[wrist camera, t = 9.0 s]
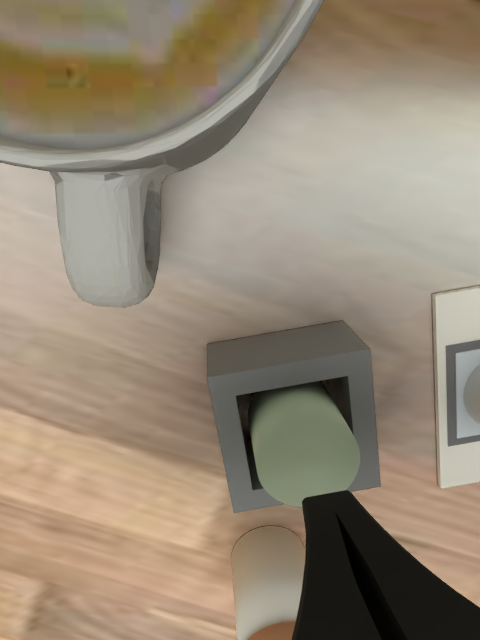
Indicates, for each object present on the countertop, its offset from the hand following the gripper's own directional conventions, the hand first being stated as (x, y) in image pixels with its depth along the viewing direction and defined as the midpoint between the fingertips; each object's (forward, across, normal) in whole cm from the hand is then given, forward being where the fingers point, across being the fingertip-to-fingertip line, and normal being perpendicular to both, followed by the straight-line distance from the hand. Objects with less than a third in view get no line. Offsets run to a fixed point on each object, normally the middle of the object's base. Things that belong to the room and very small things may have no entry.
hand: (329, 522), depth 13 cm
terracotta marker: (+8, +2, +9) cm, 12 cm away
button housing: (+8, 0, 0) cm, 8 cm away
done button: (+6, 0, 0) cm, 6 cm away
